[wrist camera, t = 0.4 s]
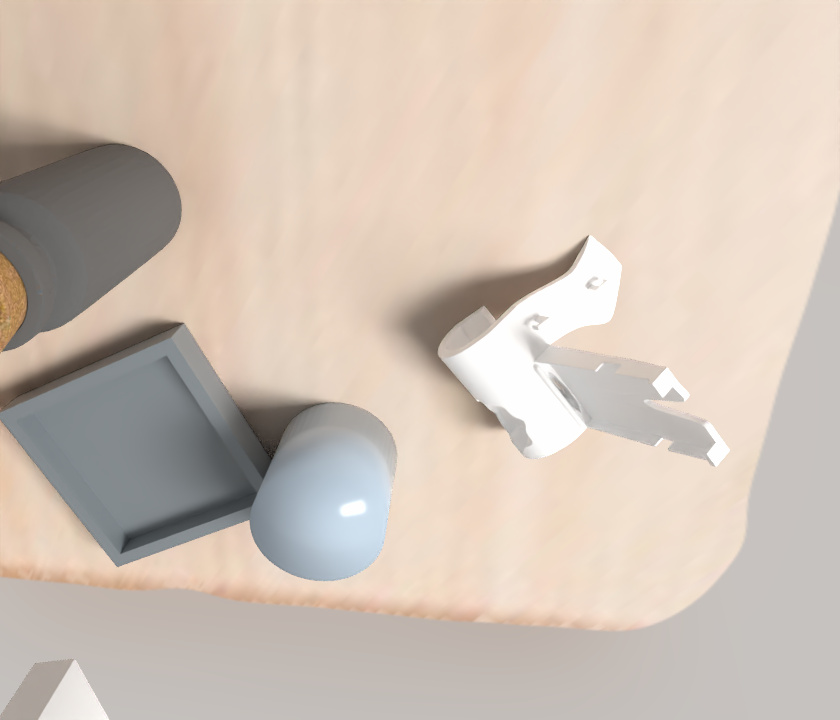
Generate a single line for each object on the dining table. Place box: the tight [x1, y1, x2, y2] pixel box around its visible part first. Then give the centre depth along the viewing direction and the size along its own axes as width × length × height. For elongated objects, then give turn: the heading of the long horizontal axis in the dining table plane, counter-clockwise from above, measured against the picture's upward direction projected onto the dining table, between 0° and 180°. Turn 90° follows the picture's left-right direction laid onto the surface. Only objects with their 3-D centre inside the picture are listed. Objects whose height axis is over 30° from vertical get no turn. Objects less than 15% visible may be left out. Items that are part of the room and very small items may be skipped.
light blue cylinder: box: [250, 403, 397, 581], centre depth 41 cm, size 7×7×7 cm
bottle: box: [0, 144, 181, 353], centre depth 31 cm, size 6×6×15 cm
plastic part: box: [438, 235, 730, 467], centre depth 35 cm, size 8×10×12 cm
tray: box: [0, 323, 271, 567], centre depth 43 cm, size 12×12×2 cm
